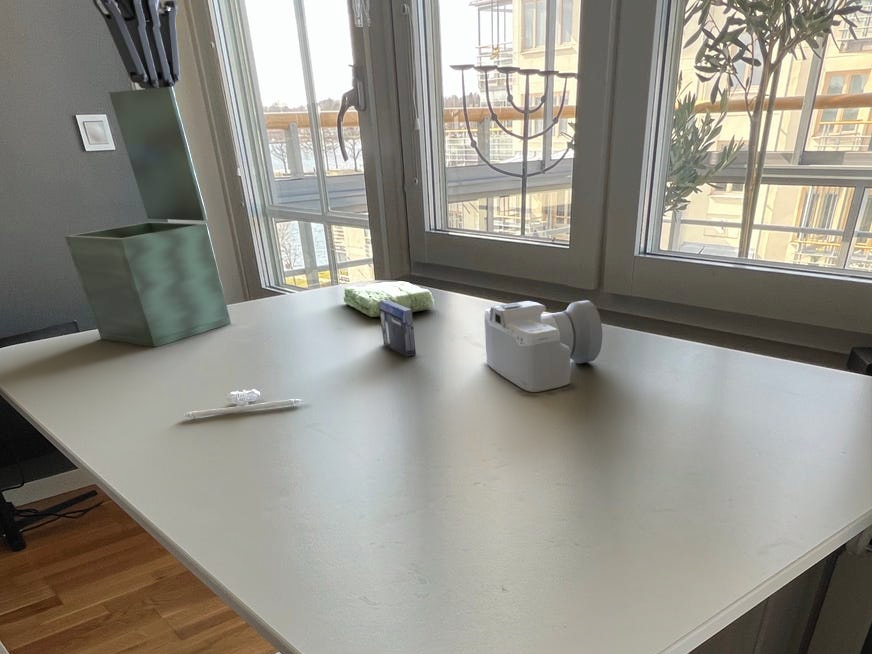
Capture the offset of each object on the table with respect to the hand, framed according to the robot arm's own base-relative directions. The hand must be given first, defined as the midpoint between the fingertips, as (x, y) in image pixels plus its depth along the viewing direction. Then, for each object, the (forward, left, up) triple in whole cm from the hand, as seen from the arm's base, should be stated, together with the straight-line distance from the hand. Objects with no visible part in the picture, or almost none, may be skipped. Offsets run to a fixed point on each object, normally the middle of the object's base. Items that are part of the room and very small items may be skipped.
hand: (171, 140), depth 110 cm
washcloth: (+26, +17, -26) cm, 41 cm away
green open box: (0, -11, -26) cm, 28 cm away
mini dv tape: (+45, -5, -26) cm, 52 cm away
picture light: (+42, -33, -26) cm, 59 cm away
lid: (0, -4, -2) cm, 4 cm away
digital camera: (+70, -6, -26) cm, 75 cm away
